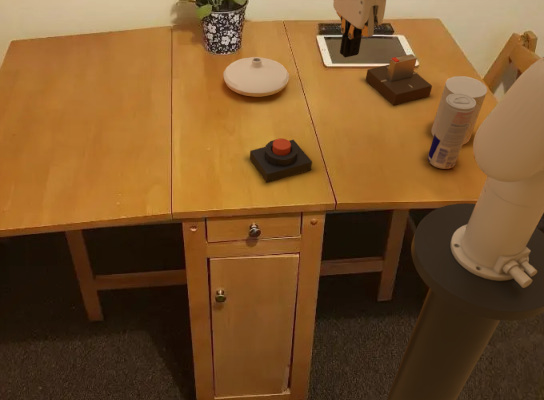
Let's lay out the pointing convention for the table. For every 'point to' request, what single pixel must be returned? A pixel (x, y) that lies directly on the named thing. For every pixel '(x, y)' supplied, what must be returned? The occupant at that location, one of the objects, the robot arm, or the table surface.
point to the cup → (466, 87)
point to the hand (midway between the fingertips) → (349, 54)
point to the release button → (281, 147)
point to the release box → (280, 162)
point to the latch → (401, 67)
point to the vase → (256, 76)
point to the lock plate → (398, 86)
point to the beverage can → (451, 130)
